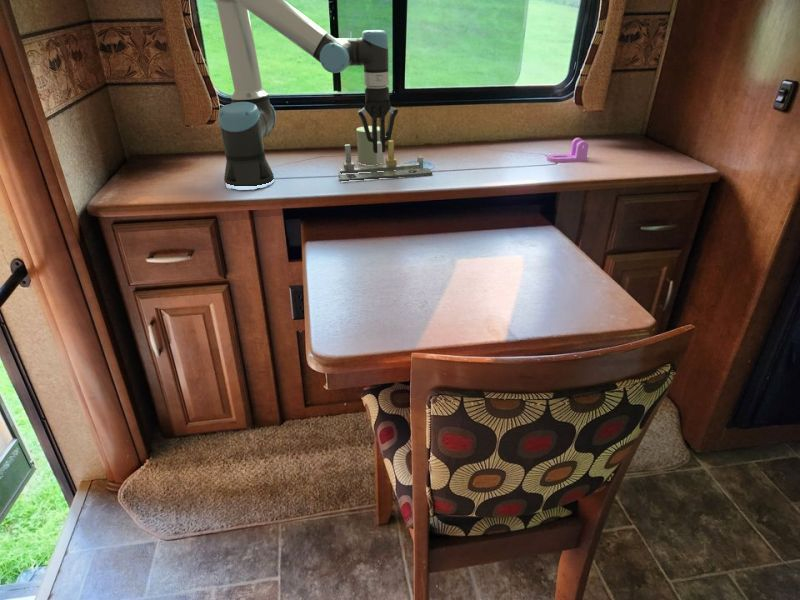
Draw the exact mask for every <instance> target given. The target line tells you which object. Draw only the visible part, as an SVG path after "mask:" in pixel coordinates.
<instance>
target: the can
mask: <svg viewBox="0 0 800 600" xmlns="http://www.w3.org/2000/svg"><path fill="white" fill-rule="evenodd" d="M368 128H369V131H370V135H371V137H372V125H368ZM355 132H356V144H357V145H356V147H357V163H358V162H359V163H361V164H366V165H376V164H378V163H377V157H376V153H374V151H373V142H369V141H368V140H367V137H366V134H365V130H364V127H363V126H359V127H357V128H356V131H355ZM379 141H380V126H379V125H377V142H379ZM380 142H381V141H380ZM382 162H385V161H384V152H382ZM376 166H377V165H376Z"/></svg>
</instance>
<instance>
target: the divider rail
mask: <svg viewBox="0 0 800 600" xmlns="http://www.w3.org/2000/svg"><path fill="white" fill-rule="evenodd" d="M344 153H345V162H343V168H339V174H340V173H341V174H342V173H358V172H377V171H394V170H409V169H421V168H424V157H423V156H422V155H417V157H416V158H417V159H416V160H417V161H416V162H415V163H414V162H413V163H400V164H399V163H397V166H392V167H388V166H387V165H376V166H364V167H363V166H362V167H360V166H359V167H355V164H354V161H352V150H351V144H350V143H348V144H347V143H346V144H345V143H344Z"/></svg>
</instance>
